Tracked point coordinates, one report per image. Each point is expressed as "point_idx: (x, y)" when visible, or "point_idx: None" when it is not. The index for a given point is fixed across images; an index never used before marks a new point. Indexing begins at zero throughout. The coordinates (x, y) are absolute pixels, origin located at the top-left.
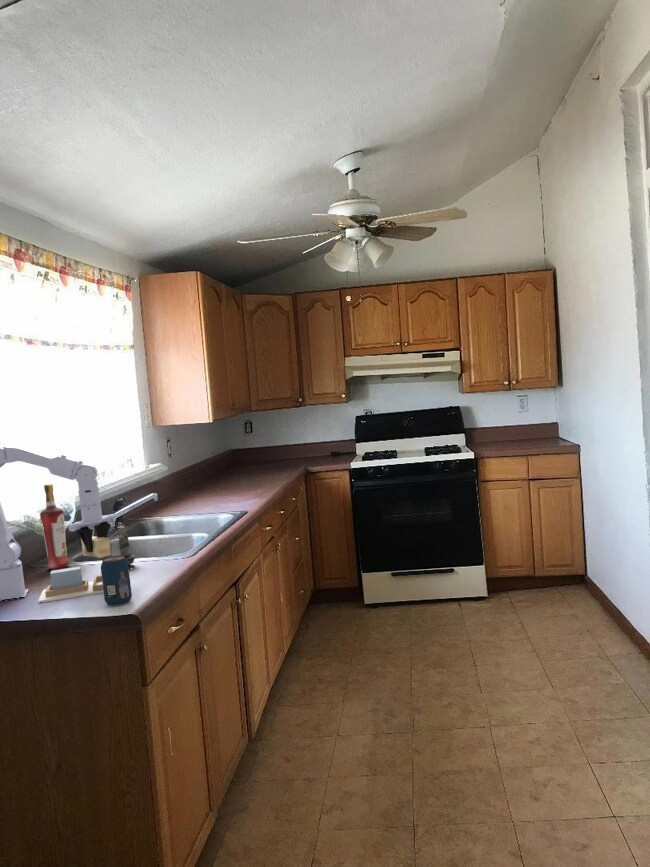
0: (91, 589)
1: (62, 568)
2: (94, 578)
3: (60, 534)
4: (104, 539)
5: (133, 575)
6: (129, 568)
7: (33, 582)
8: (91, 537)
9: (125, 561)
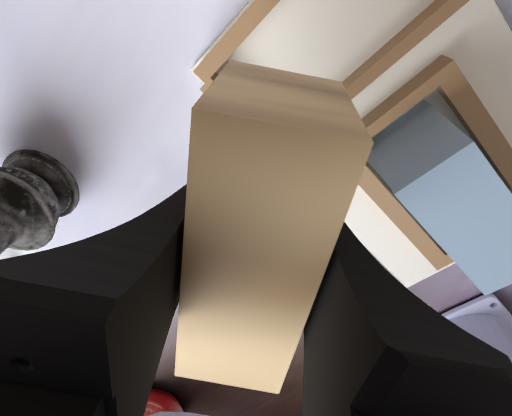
0: (424, 40)
1: (157, 389)
2: None
3: None
4: (269, 122)
5: (104, 34)
6: (43, 159)
7: (300, 375)
8: (357, 280)
9: None
